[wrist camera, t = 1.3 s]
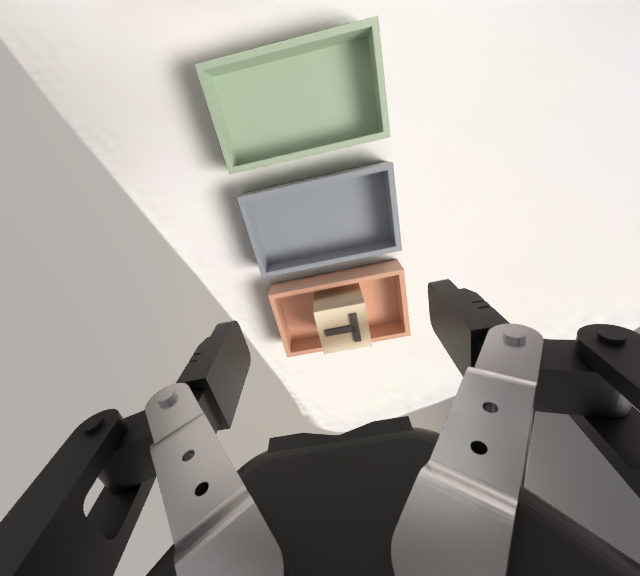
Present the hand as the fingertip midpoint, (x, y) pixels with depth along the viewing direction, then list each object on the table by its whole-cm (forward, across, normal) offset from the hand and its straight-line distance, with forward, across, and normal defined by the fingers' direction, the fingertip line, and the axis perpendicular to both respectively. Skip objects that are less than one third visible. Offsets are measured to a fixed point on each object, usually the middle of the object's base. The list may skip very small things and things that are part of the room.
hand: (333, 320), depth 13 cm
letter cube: (+20, 0, +10) cm, 22 cm away
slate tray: (+20, 0, 0) cm, 20 cm away
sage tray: (+20, 0, -10) cm, 22 cm away
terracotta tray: (+20, 0, +10) cm, 22 cm away
